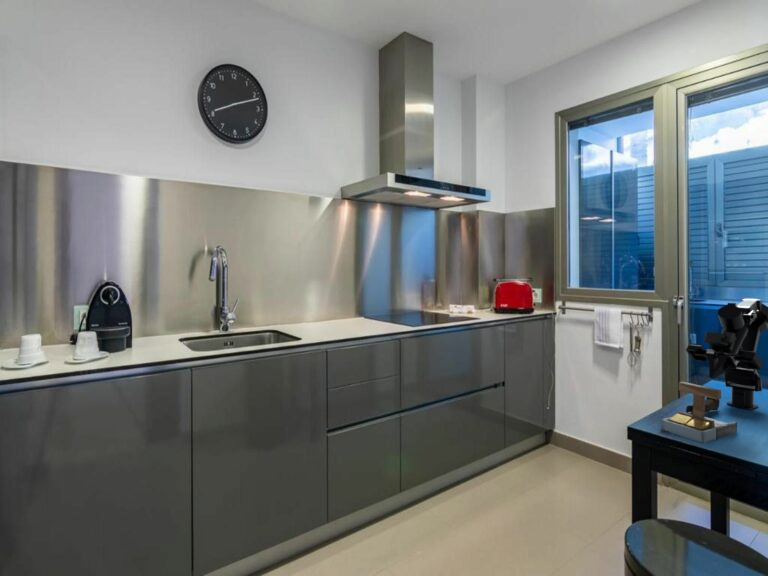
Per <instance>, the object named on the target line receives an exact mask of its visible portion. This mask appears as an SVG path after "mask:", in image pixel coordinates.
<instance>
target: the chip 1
mask: <svg viewBox="0 0 768 576" xmlns="http://www.w3.org/2000/svg"><path fill="white" fill-rule="evenodd" d="M671 417H672V418H671V419H669V420H670V422H673V423H677V424H680V425H683V426H686V424H687V423H688V422H690V421H691V420H692V417H688V416H685V415H681V414H678V412H677V413H676V414H674V415H673V416H671Z"/></svg>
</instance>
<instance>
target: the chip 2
mask: <svg viewBox="0 0 768 576" xmlns="http://www.w3.org/2000/svg"><path fill="white" fill-rule="evenodd" d="M686 426H687V427H690V428H693V429H696V430H700V431H705V430H708V429H711V428H710V423H709V422H705V421H702V420H698V419H695V418H694V419H692V420H691V421H690V422H688V423H687V424H686Z"/></svg>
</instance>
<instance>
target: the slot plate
mask: <svg viewBox="0 0 768 576" xmlns="http://www.w3.org/2000/svg"><path fill="white" fill-rule="evenodd" d="M687 413H688V414H691V415H693V411H691V412H687ZM705 418H706V419H709V420H713V421H715V426H714V428H716V439H715V440H719V439H722V438H725V437H728V436H731V435H734V434H737V433H738V421H732V422H725V421H723V420H718V419H715V418H714V419H713V418H711V417H708V416H705Z"/></svg>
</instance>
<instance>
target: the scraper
mask: <svg viewBox="0 0 768 576" xmlns="http://www.w3.org/2000/svg"><path fill="white" fill-rule="evenodd" d="M678 391H679V392H684V393H688V394H692V395H693V396H692V398H693V399H692V401H693V402H692V405H693V415H691V414H688V413H686V412H683V411H677V413H678V414H681V415H685V416H688V417H692V419H694V418H695V419H698V420H702V421H705V422H709V423H710V428H711V429H712V428H714V426H715V421H713V420H709V419H706V418H705V417H706V416H705V415H706V413H705V400H706V398H707V397H708V398H713V399H719V400H721V399H722V389H720V388H714V387H710V386H709V387H708V386H704V385H699V384H695V383H692V382H686V381H679V382H678Z"/></svg>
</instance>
